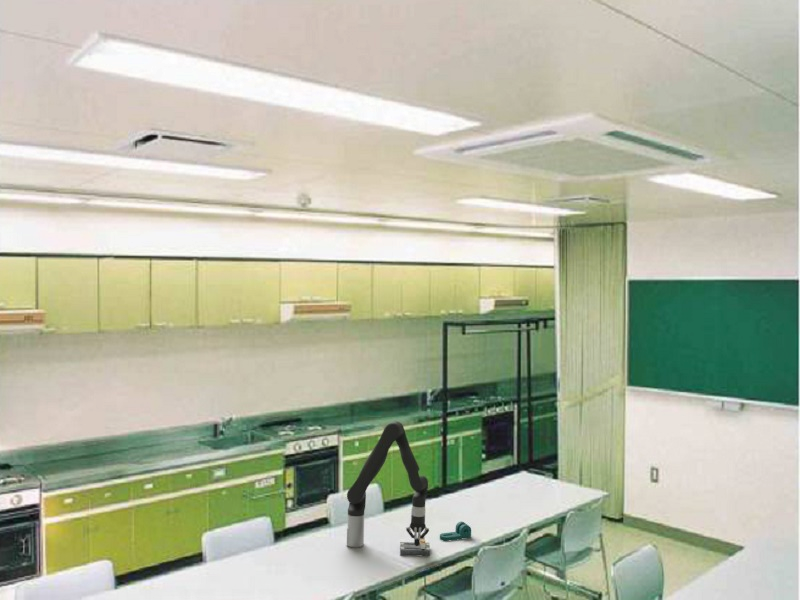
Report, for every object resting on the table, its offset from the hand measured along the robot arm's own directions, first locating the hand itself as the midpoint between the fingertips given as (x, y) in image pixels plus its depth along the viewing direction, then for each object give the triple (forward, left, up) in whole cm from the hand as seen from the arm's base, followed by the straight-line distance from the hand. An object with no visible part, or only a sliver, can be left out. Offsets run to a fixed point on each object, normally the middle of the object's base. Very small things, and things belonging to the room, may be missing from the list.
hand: (416, 545), depth 373 cm
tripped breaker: (+3, 0, -1) cm, 4 cm away
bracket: (+22, +25, -5) cm, 34 cm away
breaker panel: (-1, +3, -5) cm, 6 cm away
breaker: (+3, +6, -1) cm, 7 cm away
